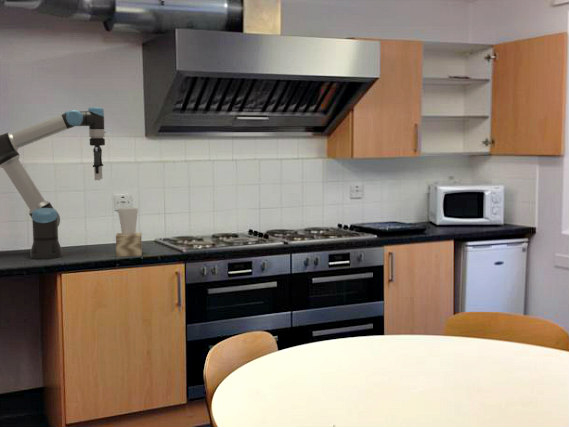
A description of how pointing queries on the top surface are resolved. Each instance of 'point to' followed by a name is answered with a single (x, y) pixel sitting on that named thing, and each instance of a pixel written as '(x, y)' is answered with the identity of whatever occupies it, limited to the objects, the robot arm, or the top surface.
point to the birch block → (128, 245)
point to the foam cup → (128, 220)
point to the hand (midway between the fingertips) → (98, 179)
